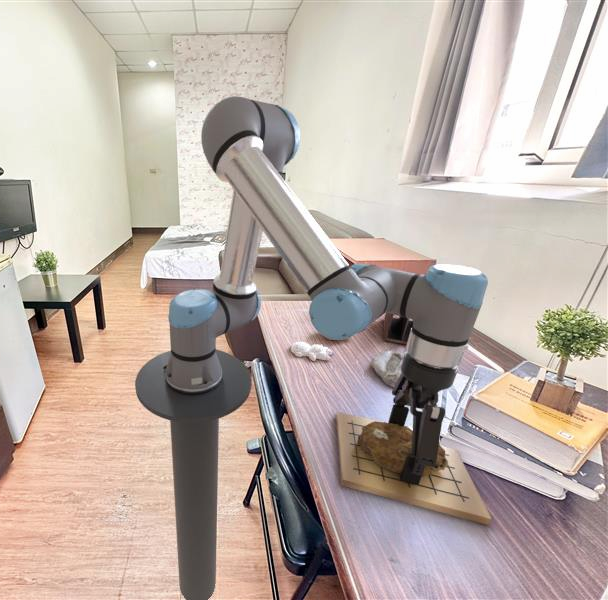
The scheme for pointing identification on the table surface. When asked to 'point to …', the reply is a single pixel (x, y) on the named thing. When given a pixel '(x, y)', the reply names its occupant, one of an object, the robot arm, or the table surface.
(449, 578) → the table surface
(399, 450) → the decorative rock
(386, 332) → the letter holder
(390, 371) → the fossil
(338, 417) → the grid board
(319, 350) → the astronaut figurine
